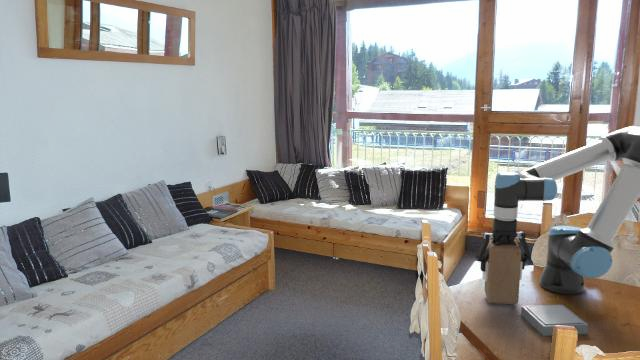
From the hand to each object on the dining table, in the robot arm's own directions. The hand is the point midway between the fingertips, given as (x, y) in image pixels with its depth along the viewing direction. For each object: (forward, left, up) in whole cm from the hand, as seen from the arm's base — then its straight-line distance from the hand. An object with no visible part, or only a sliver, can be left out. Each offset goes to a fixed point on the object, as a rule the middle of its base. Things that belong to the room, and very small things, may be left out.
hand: (501, 279), depth 170 cm
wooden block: (0, 0, -7) cm, 7 cm away
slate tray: (-10, +17, -8) cm, 21 cm away
